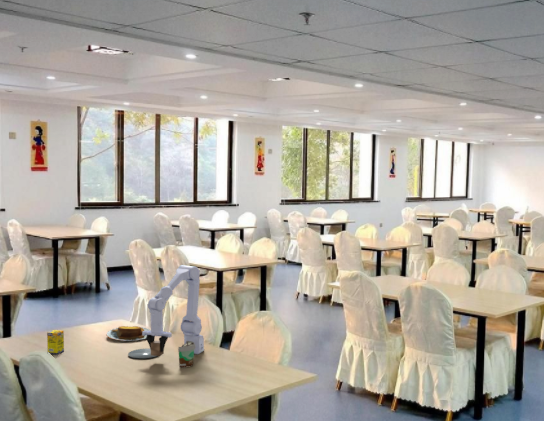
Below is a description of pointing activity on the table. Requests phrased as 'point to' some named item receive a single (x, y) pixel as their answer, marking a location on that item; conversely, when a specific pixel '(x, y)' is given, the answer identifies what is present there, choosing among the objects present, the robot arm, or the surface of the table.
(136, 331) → the food on plate
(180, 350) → the food container
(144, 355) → the slate dish
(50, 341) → the supplement box
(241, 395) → the table surface
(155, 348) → the walnut block
